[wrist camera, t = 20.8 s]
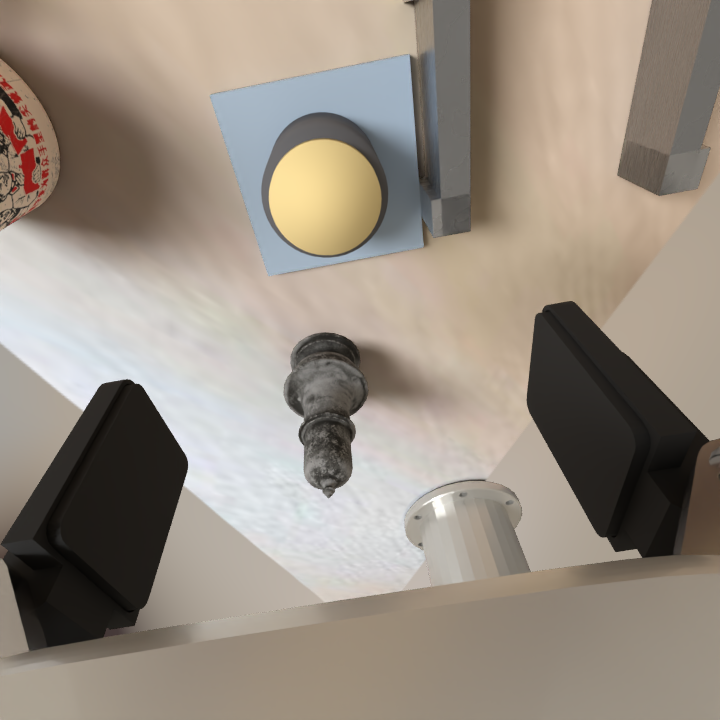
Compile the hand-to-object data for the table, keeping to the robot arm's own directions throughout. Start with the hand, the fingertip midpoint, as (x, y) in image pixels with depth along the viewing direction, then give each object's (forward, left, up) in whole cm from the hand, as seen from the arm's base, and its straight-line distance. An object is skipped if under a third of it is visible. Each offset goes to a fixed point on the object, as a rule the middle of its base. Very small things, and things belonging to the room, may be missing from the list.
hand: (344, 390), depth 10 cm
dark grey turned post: (-13, +3, -18) cm, 23 cm away
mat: (0, 0, -18) cm, 18 cm away
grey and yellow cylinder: (+1, 0, -18) cm, 18 cm away
